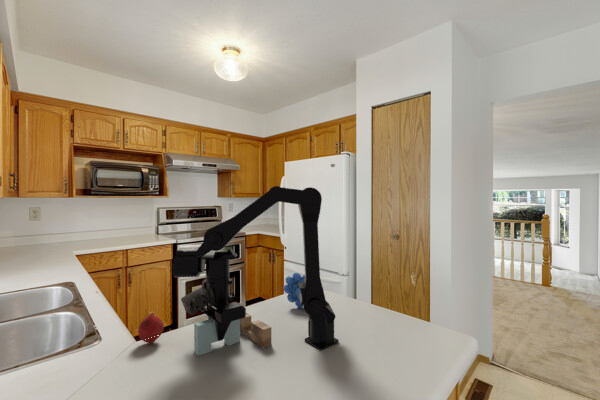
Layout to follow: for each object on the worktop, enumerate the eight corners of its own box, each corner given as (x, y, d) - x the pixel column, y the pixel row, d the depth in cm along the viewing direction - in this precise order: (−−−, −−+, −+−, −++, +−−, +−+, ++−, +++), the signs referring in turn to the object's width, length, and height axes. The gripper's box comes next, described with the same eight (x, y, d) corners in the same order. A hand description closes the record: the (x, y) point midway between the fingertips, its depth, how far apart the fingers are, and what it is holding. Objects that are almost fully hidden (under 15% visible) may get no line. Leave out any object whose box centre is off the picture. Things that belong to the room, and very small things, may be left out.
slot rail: (271, 345, 74) (271, 327, 74) (263, 348, 72) (263, 329, 72) (241, 325, 86) (241, 309, 86) (233, 327, 85) (233, 311, 85)
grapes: (281, 312, 96) (281, 275, 96) (284, 304, 103) (284, 270, 103) (316, 312, 95) (316, 275, 95) (317, 305, 102) (317, 271, 102)
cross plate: (240, 341, 76) (239, 314, 76) (197, 356, 69) (197, 326, 69) (235, 338, 78) (235, 312, 78) (194, 352, 71) (194, 323, 71)
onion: (153, 350, 72) (152, 317, 72) (132, 347, 73) (132, 315, 73) (168, 339, 77) (168, 309, 78) (149, 337, 79) (149, 307, 79)
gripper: (173, 274, 75) (173, 335, 75) (199, 290, 61) (199, 365, 61) (214, 268, 83) (214, 323, 82) (246, 281, 68) (247, 348, 68)
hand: (218, 338), depth 73 cm, fingers closed on cross plate, 2 cm apart
